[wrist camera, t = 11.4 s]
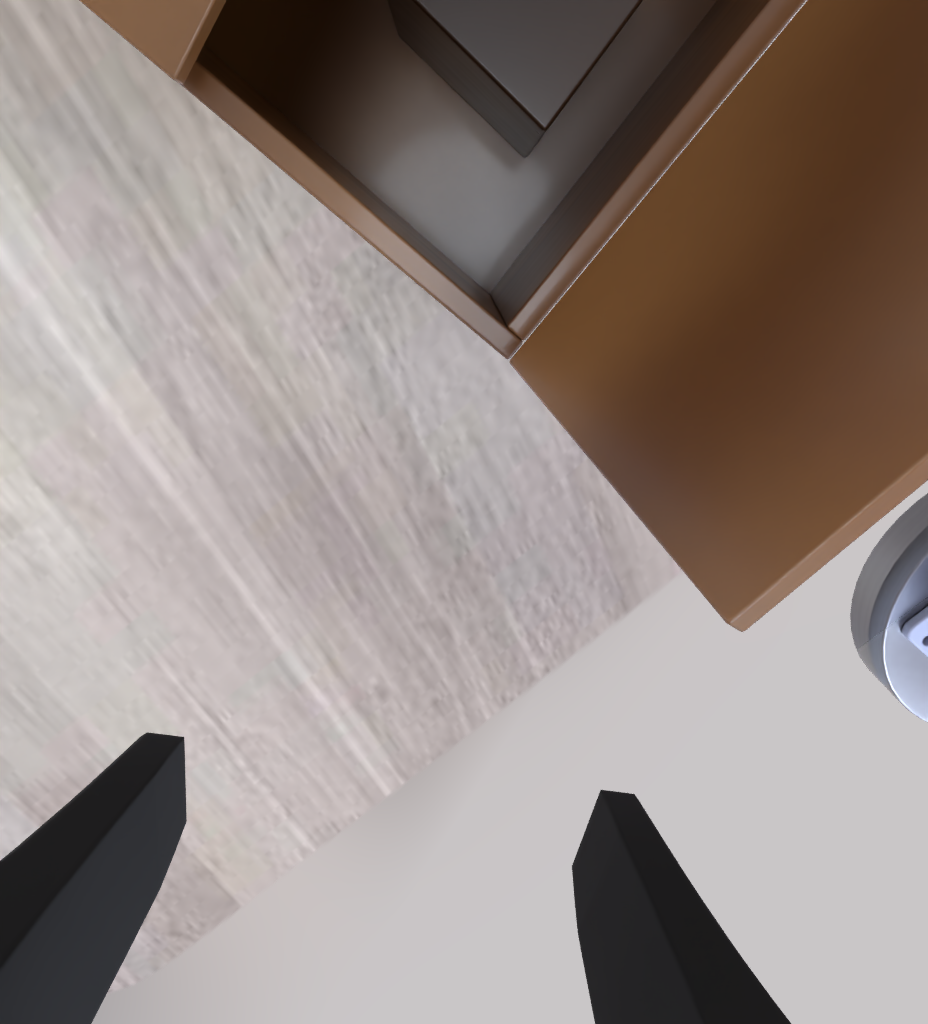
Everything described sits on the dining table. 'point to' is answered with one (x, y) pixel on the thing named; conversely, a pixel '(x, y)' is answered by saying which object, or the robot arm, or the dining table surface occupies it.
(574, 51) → the block
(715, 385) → the flap
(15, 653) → the dining table surface
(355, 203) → the carton
